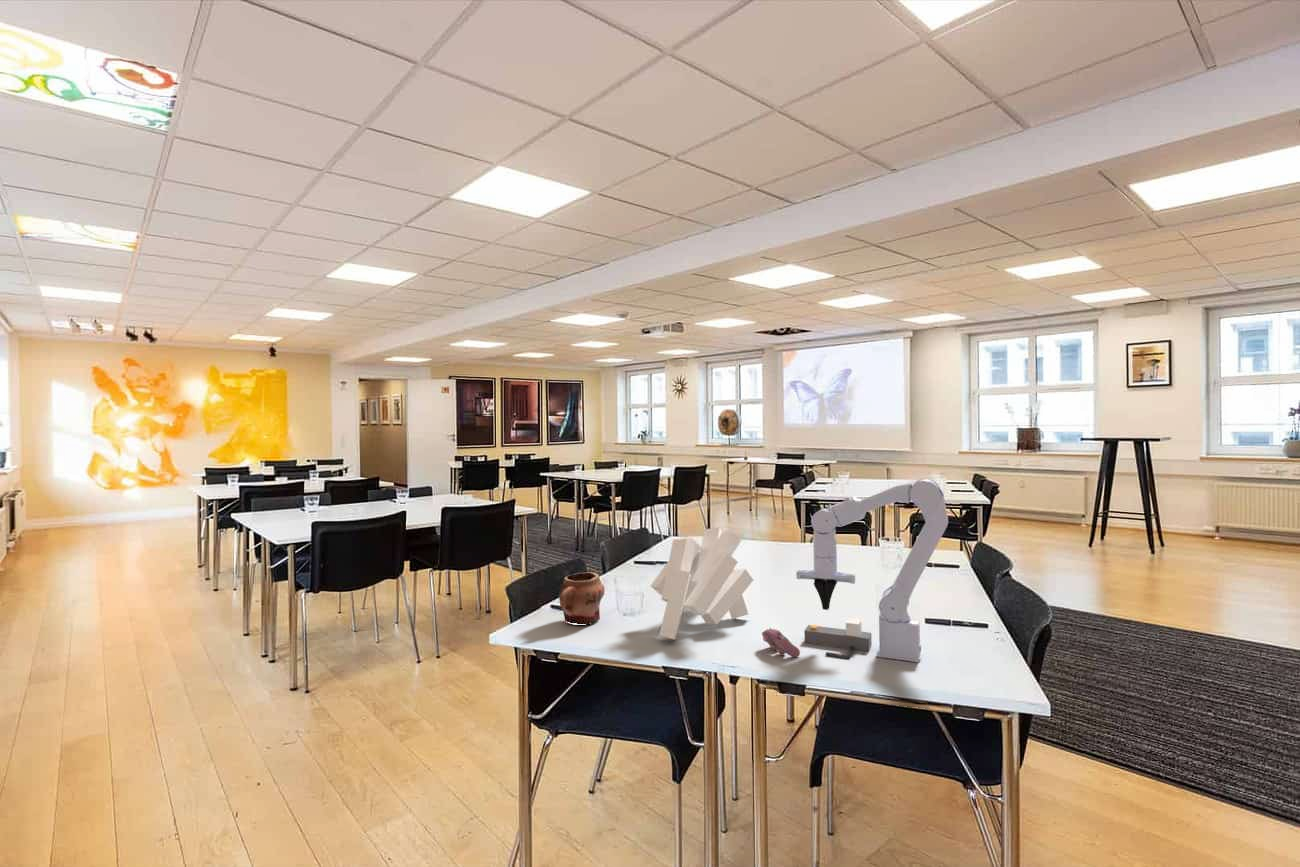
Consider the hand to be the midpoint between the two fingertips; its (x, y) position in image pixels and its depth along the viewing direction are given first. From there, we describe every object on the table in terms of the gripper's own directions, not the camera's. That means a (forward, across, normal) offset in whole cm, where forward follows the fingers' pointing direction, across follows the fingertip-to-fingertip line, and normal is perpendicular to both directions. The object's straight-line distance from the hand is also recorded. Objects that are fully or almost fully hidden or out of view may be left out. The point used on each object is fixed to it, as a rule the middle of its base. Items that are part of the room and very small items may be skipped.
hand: (825, 608), depth 159 cm
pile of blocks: (+10, +35, -4) cm, 37 cm away
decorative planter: (+10, +69, +8) cm, 70 cm away
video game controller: (+10, +10, +10) cm, 17 cm away
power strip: (+9, -2, +2) cm, 10 cm away
